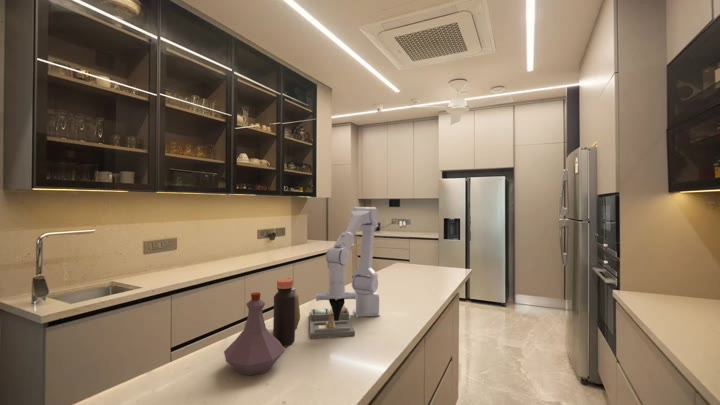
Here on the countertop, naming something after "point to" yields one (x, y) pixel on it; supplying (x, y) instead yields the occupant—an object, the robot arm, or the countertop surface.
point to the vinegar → (284, 313)
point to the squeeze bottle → (296, 307)
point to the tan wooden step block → (330, 321)
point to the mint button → (319, 311)
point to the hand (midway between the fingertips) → (336, 320)
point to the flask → (254, 343)
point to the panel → (321, 330)
